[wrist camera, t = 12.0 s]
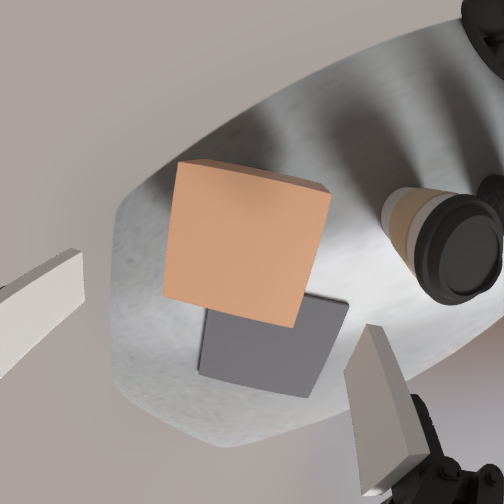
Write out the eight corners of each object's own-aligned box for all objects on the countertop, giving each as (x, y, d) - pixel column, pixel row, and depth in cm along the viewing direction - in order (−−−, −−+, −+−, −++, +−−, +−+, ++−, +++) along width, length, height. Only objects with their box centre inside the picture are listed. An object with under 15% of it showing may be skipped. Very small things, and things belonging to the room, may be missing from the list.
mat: (348, 304, 35) (349, 306, 34) (307, 395, 41) (307, 398, 40) (214, 273, 36) (213, 275, 35) (199, 371, 42) (198, 374, 41)
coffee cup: (357, 229, 32) (403, 287, 18) (395, 162, 29) (468, 174, 15) (413, 265, 32) (473, 330, 18) (449, 203, 29) (528, 239, 15)
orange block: (320, 183, 25) (332, 194, 19) (292, 288, 29) (292, 328, 22) (205, 158, 26) (178, 161, 19) (189, 264, 29) (162, 296, 23)
